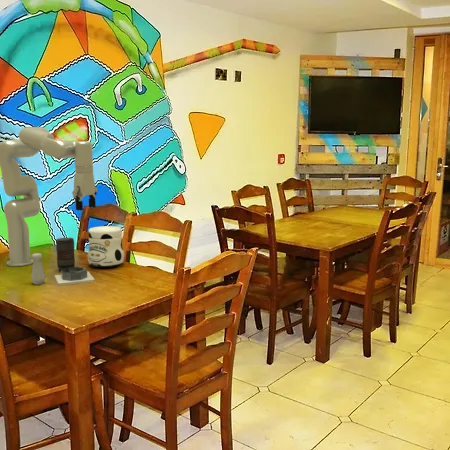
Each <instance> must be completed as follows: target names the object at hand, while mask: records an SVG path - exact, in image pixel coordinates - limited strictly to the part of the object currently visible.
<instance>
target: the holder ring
mask: <svg viewBox="0 0 450 450" xmlns="http://www.w3.org/2000/svg"><path fill="white" fill-rule="evenodd" d="M87 272H88V269H87V267H85V266H74V267H67V268H64V269H61V272H60V275H61V278H62V280H68V281H75V280H82V279H84V278H87Z"/></svg>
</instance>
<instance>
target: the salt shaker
mask: <svg viewBox="0 0 450 450" xmlns="http://www.w3.org/2000/svg"><path fill="white" fill-rule="evenodd" d="M30 258H31V259H32V260H33V264H32V269H31V274H30V275H31V278H30V279H31V281H32V283H33V285H36V286H38V285H43V284H44V283H45V280H46V275H45V271H44V267H43V262H42V260H43V254H42V253H39V252H36V253H32V254H31V255H30Z"/></svg>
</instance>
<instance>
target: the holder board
mask: <svg viewBox="0 0 450 450" xmlns="http://www.w3.org/2000/svg"><path fill="white" fill-rule="evenodd" d="M54 278H55V281H56V283H57V285H58V286H68V285H78V284H86V283H94V282H95V278H94V276H93V275H92V274H91V273H90V272H89V271H87V278H84V279H82V280H75V281H68V280H62V278H61V274H55V275H54Z"/></svg>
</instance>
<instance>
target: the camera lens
mask: <svg viewBox="0 0 450 450" xmlns="http://www.w3.org/2000/svg"><path fill="white" fill-rule="evenodd" d="M55 240H56V242H55V248H56V265H57V268H58V271H59V272H60V273H61V269H64V268H67V267H76V266H75V265H76V264H75V263H76V259H75V240H74V238H73V237H59V238H57V239H55Z"/></svg>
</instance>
